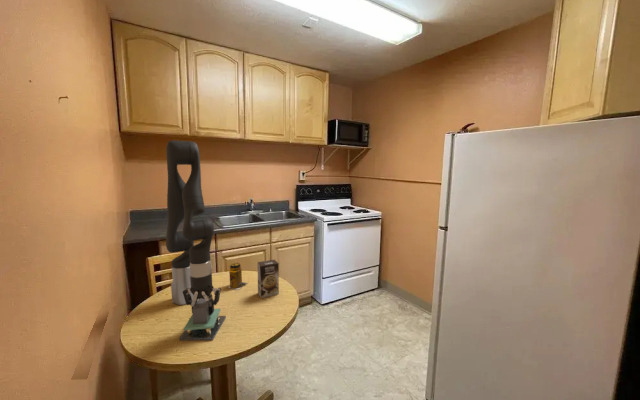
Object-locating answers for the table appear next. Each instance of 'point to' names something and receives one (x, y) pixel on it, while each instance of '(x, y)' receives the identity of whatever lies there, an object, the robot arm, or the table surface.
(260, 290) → the coffee box
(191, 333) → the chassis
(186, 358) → the table surface
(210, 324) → the board
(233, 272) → the condiment
